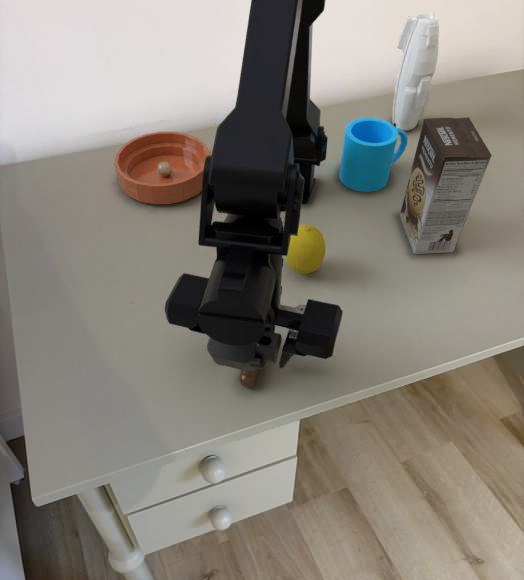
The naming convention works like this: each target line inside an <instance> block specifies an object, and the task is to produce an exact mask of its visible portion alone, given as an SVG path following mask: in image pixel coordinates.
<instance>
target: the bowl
mask: <svg viewBox="0 0 524 580" xmlns="http://www.w3.org/2000/svg"><path fill="white" fill-rule="evenodd" d="M208 155H211V151H210V150H209V148H208V146H207V144H206V143H205V142H203V141H202V140H201V139H200V138H198V137H196V136H194V135H191V134H189V133H185V132H179V131H172V130H171V131H156V132H150V133H145V134H142V135H140V136H139V135H138V136H137V137H134V138H132V139H131V140H129V141H127V142H126V143H125V144H123V145H122V146H121V147H120V148H119V149H118V151H117V152H116V153H115V156H114V161H113V162H114V163H113V164H114V168H115V172H116V176H117V180H118V183H119V186H120V189H121V190H122V191H123V192H124V193H125V194H126V195H127V196H128V197H130V198H132V199H134V200H136V201H137V202H140V203H146V204H150V205H171V204H175V203H176V204H177V203H181V202H184V201H187V200H189V199H191V198H193V197H195V196H197V195H199V194H200V193H202V181H203V169H204V164H205V160H206V157H207V156H208ZM163 161H165V162H168V163H169V164H170V165H171V167H172V172H171V174H170V175H169V176H167V177H163V176H161V175H159V173H158V171H157V166H158V164H159V163H160V162H163Z"/></svg>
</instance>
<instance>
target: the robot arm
mask: <svg viewBox="0 0 524 580" xmlns="http://www.w3.org/2000/svg"><path fill="white" fill-rule="evenodd" d="M326 1H327V0H250V7H249V13H248V21H247V27H246V33H245V34H246V35H245V42H244V48H243V55H242V60H241V61H242V62H241V69H240V76H239V82H238V88H237V95H236V100H235V106H234V107H233V109H232V110H231V111H230V112H229V113H228V114H227V115H226V116H225V117H224V118H223V120H222V121H221V122H220V123H219V124H218V126H217V128H216V130H215V137H214V142H213V147H212V152H211V154H210V155H208V156H207V157H206V160H205V164H204V169H203V181H202V191H201V197H200V209H199V210H200V213H199V226H198V240H197V243H198V246H199V247H200V246H201V247H210V248H215V249H216V251H215V252H216V258H215V260H214V263H213V265H212V268H211V271H210V275H209V277H205V276H201V275H196V274H191V273H185V272H183V274H181V275H180V276H179V277H178V279H177V280H176V282H175V284H174V286H173V288H172V290H171V292H170V293H169V295H168V297H167V299H166V301H165V305H164V313H165V319H166V320H167V323H169V325H174V326H176V327H177V326H178V327H182V328H187V329H188V330H189V331H191V332H195V333H199V334H203V335H206V336H207V337H208V341H207V345H206V350H207V352H208V354H209V355H210V357H211V359H212V360H213V362H214V363H215V364H216V365H218V366H222V367H229V368H232V369H233V368H234V369H237V370H240V371H241V370H243V371H253V370H254V369H255V368H259V369H260V370H265V367H266V366H267V364H269V365H276V364H277V362H278V367H279V369H281V370H283V369H284V367H285V366H286V365H287V363H288V362H289V361H290V360H291V358H292V357H293V356H294V355H295V356H300V357H307V356H310V357H314V358H319V359H322V360H327V359H330V358H331V357H333V354H334V350H335V345H336V343H337V339H338V334H339V331H340V327H341V323H342V318H343V313H344V311H343V309H342V308H341V306H340V305H339V304H335V303H330V302H325V301H324V302H323V301H319V300H317V299H316V300H315V299H310V298H308V299H307V300H306V304H298V305H296V306H295V307H294V306H288V305H283V304H281V296H282V293H283V286H282V273H283V267H284V258H283V256H284V257H285V256H287V254H288V249H289V244H290V239H291V235H293V236H298V228H299V226H300V220H301V211H302V205H303V204H308V203H309V201H310V198H311V196H312V194H313V193H312V192H313V191H314V188H315V185H316V182H317V179H316V178H315V172H316V171H315V169H316V167H320V166H321V163H322V162H323V161H326V159H327V151H328V139H329V138H328V136H327V134H326V130H325V126H324V125H321V113H322V112H321V109H320V108H319V106H317V105H316V104H315V102H314V101H312V99H311V83H312V82H311V80H312V58H313V57H312V53H313V52H312V51H313V28H314V27H313V26H314V23H315V22H316V21H317V19H318V18H319V17H320V16H321V15H322V14H323V13H324V11H325V7H326ZM215 209H216V212H217V213H218V214H227V215H226V216H225V219H224V220H223V221H217V220H215V221H213V216H214V210H215ZM282 213H284V220H283V219H282V217H281V214H282ZM283 221H284V223H283ZM276 326H277V327H281V328H285V329H287V334H286V338H285V339H284V343H283V346H282V349H281V345H282V341H283V338H282V334H281V333H278V332H276ZM280 349H281V356H280V358H279V361H278V356H279V353H280Z"/></svg>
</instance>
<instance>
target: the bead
mask: <svg viewBox="0 0 524 580" xmlns="http://www.w3.org/2000/svg"><path fill="white" fill-rule="evenodd" d="M157 171H158V173H159V175H161V176H163V177H167V176H169V175H170V174H171V172H172V167H171V165H170V164H169V163H168V162H165V161H163V162H160V163H159V164H158V166H157Z"/></svg>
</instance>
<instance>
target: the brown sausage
mask: <svg viewBox="0 0 524 580" xmlns="http://www.w3.org/2000/svg"><path fill="white" fill-rule="evenodd" d="M260 370H261V369H259V368H255V369H254V370H253V371H243V370H240V373H239V376H238V382H239V384H240V386H242V387H243V388H246V389H247V388H252V387H253V386H254V385H255V384H256V381H257V378H258V375H259V372H260Z"/></svg>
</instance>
